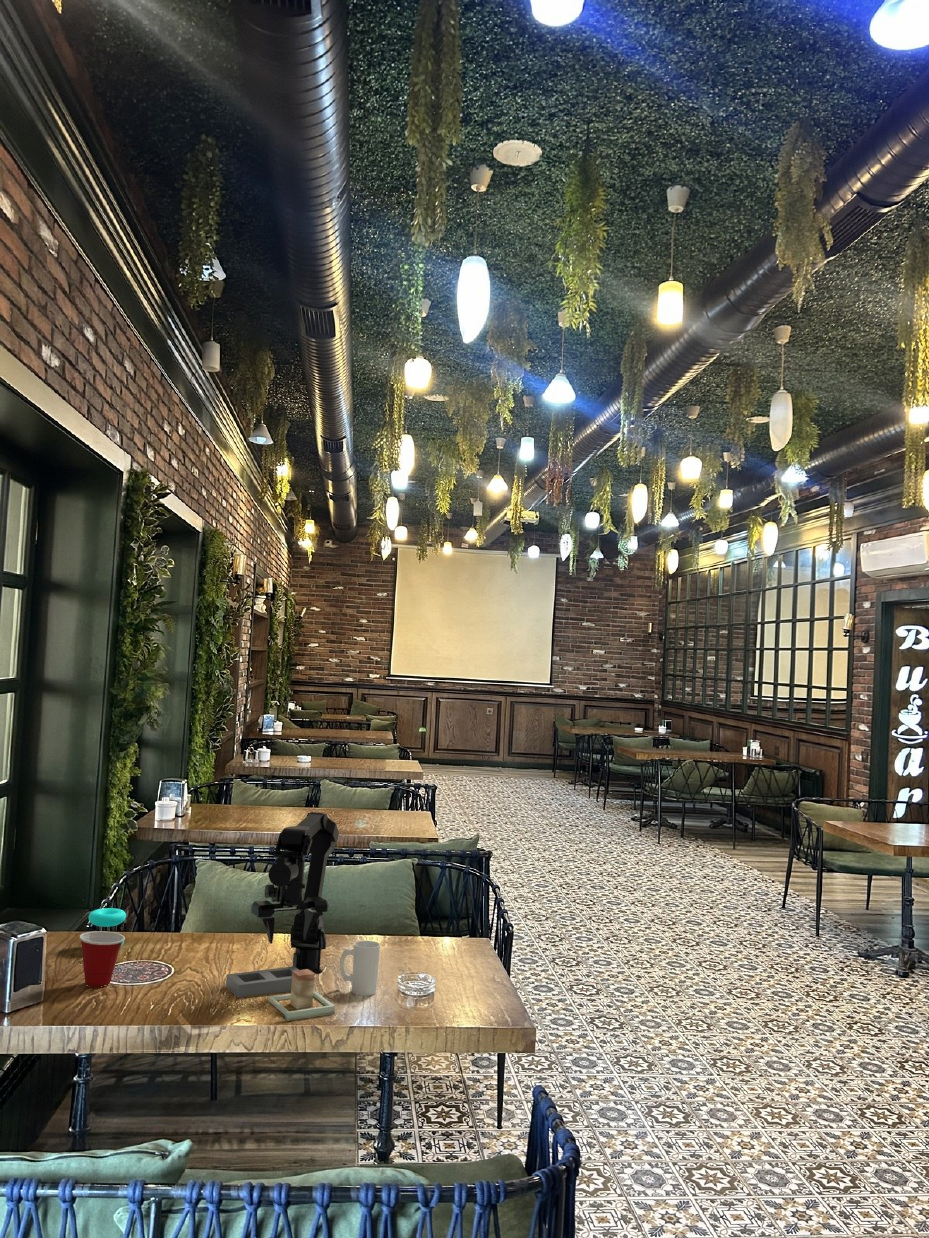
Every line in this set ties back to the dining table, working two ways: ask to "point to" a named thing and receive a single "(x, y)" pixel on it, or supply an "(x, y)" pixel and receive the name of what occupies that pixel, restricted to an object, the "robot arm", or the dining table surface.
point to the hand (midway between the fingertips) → (287, 941)
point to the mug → (362, 967)
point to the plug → (302, 988)
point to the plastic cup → (100, 956)
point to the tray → (304, 1012)
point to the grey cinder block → (260, 982)
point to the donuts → (107, 917)
